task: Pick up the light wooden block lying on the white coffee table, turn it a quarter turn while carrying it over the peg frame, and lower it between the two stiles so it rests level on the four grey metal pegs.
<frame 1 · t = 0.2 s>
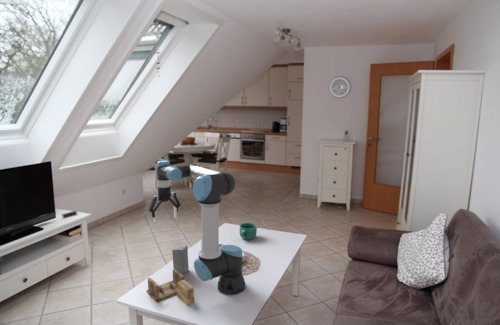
hand: (165, 219, 207), 28 cm above the table, fingers open, 13 cm apart
skincare box: (181, 272, 200), on the table
peg frame: (166, 291, 180), on the table
light wooden block: (185, 299, 173), on the table
mug: (246, 238, 249), on the table
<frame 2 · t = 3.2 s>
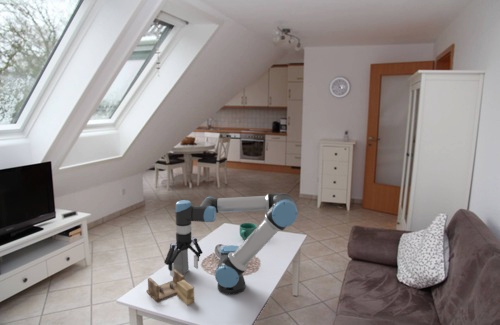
hand: (184, 271, 170), 15 cm above the table, fingers open, 13 cm apart
nothing on the table moved.
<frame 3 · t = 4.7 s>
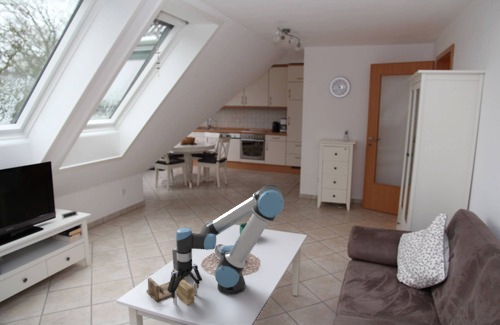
hand: (185, 298, 173), 0 cm above the table, fingers open, 11 cm apart
nothing on the table moved.
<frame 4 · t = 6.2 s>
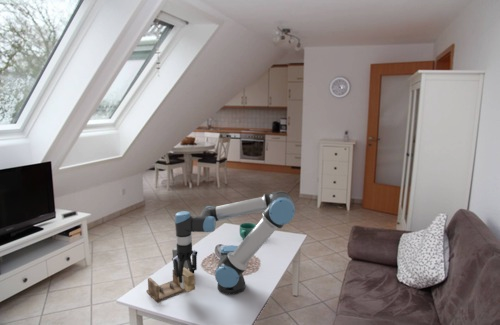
hand: (186, 285, 171), 7 cm above the table, fingers closed on light wooden block, 4 cm apart
light wooden block: (186, 286, 171), point 7 cm above the table, touching gripper
everything else where it was.
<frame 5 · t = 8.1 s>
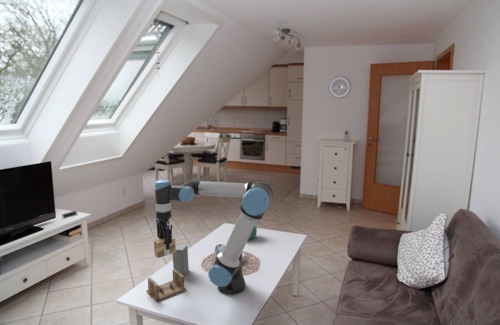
hand: (164, 253, 176), 22 cm above the table, fingers closed on light wooden block, 4 cm apart
light wooden block: (165, 253, 176), point 21 cm above the table, touching gripper
everything else where it was.
when the fingers open (5 cm above the table, at t = 10.4 s): light wooden block stays where it is, resting on peg frame.
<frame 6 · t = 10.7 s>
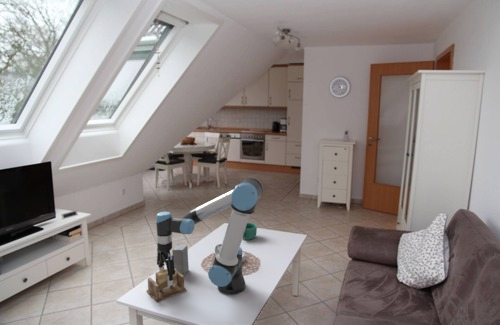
hand: (166, 281, 179), 5 cm above the table, fingers open, 8 cm apart
light wooden block: (166, 284, 179), point 3 cm above the table, touching peg frame
everything else where it was.
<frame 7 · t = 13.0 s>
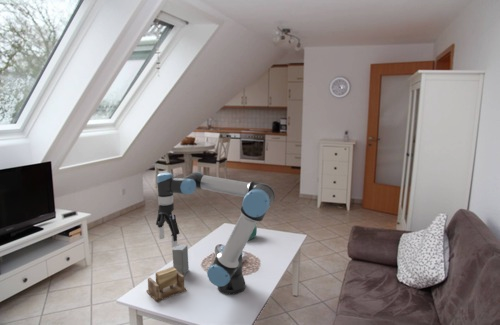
hand: (168, 242, 175), 27 cm above the table, fingers open, 13 cm apart
nothing on the table moved.
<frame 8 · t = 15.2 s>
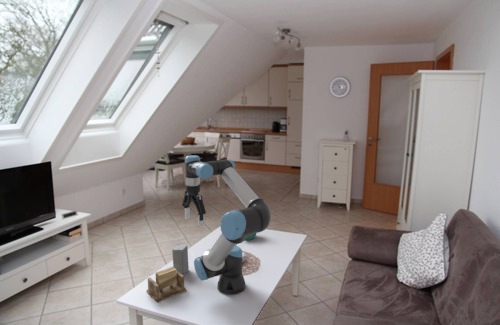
hand: (193, 222, 184), 35 cm above the table, fingers open, 13 cm apart
nothing on the table moved.
at the end: light wooden block 0.1 cm off-centre on the peg frame, point 3.5 cm above the peg frame's base; light wooden block tilted 0°; the gripper is holding nothing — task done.
